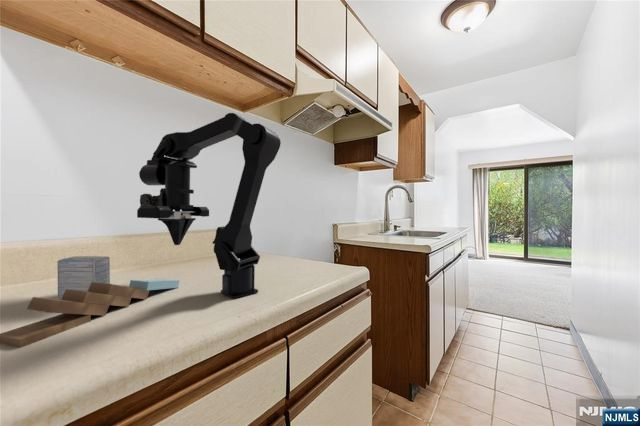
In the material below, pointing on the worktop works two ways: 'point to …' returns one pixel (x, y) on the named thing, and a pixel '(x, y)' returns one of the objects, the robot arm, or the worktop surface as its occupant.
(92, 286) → the tile
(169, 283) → the tile
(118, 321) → the worktop surface
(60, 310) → the tile
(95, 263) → the medicine box
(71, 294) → the tile
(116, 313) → the worktop surface
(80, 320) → the tile
